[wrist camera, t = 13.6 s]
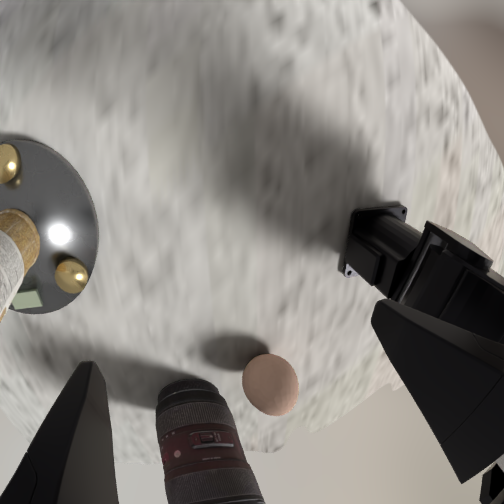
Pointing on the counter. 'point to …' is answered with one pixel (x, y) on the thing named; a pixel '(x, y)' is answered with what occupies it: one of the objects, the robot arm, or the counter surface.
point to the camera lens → (202, 447)
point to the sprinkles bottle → (15, 253)
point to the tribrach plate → (50, 223)
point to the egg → (270, 384)
